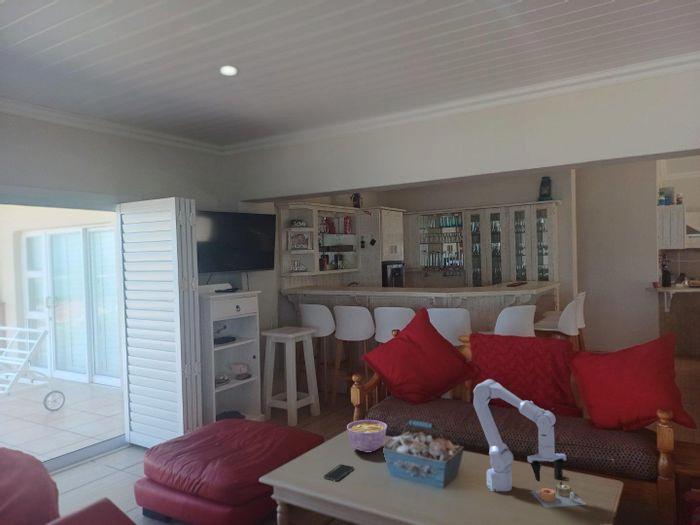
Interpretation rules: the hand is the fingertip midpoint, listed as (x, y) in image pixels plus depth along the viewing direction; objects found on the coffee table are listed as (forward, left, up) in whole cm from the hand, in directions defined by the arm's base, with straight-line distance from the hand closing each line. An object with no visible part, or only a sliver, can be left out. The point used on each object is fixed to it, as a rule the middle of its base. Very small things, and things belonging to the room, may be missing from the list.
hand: (547, 479), depth 198 cm
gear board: (+4, 0, -9) cm, 10 cm away
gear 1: (0, 0, -7) cm, 7 cm away
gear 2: (+8, +3, -7) cm, 11 cm away
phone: (-77, +39, -9) cm, 87 cm away
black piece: (+13, +17, -10) cm, 23 cm away
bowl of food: (-61, +65, -9) cm, 90 cm away
